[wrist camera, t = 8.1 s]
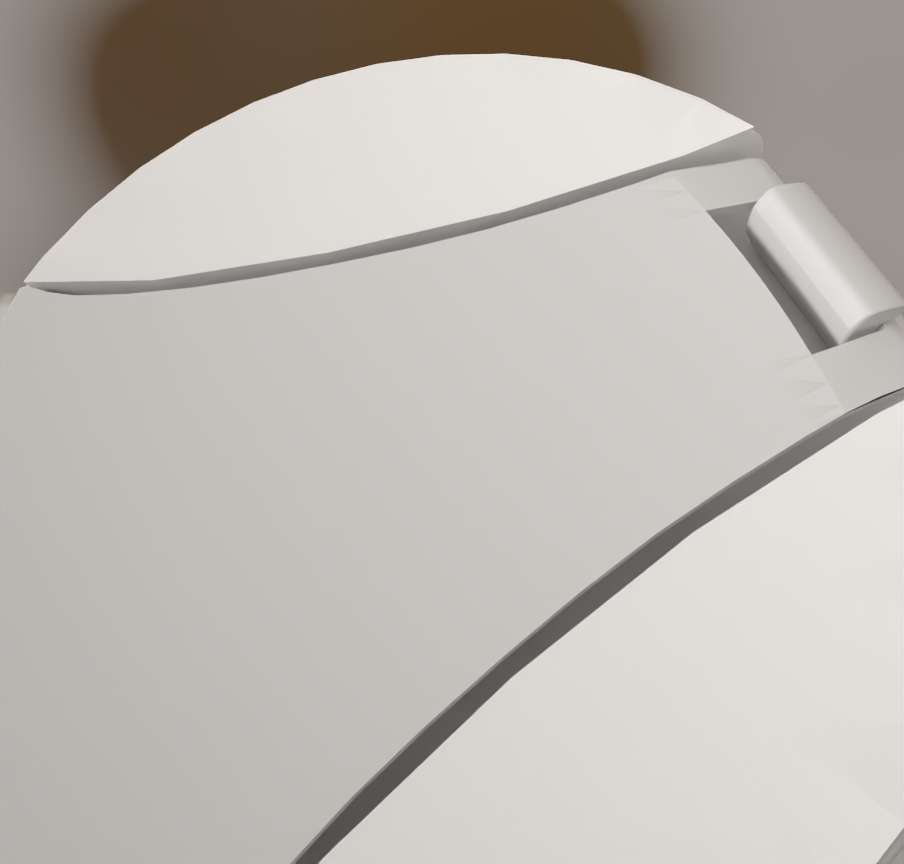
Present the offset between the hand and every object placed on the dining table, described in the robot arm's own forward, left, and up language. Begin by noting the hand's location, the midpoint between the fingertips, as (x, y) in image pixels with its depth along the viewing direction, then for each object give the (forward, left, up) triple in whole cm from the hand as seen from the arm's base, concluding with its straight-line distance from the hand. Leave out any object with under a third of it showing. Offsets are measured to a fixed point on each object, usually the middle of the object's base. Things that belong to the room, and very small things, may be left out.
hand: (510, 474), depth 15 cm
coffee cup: (+3, -2, -6) cm, 7 cm away
